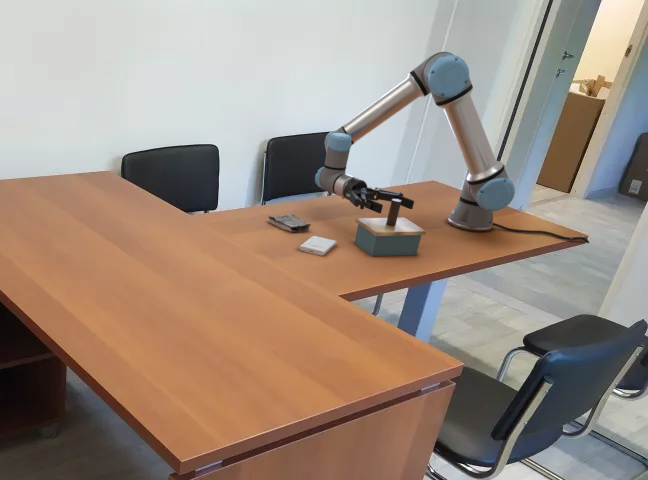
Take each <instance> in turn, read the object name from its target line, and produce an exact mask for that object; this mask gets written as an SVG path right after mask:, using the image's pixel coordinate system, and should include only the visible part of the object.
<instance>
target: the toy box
mask: <svg viewBox="0 0 648 480" xmlns="http://www.w3.org/2000/svg"><path fill="white" fill-rule="evenodd" d="M421 239H422V235H397V236H375V235H374V234H372V233H371V232H369V231H368V230H366V229H365V228H364V227H362V226H361V225H359V224H358V223H357V229H356V233H355V237H354V242H353V243H354V244H355V245H356V246H358V247H359V248H360V249H361V250H363V251H364V252H366V253H367V254H368V255H370V256H371V257H384V256H385V257H388V256H389V257H390V256H416V255H417V254H418V250H419V248H420V243H421Z"/></svg>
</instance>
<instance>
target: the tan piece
mask: <svg viewBox="0 0 648 480" xmlns="http://www.w3.org/2000/svg"><path fill="white" fill-rule="evenodd" d="M400 209H401V200H399V199H392V201H390V205H389V209H388V213H387V217H359V218H358V217H357V218H355V223H356V224H357V225H358V224H359V225H361V226H362V227H364V228H365V229H366V230H368V231H369V232H371V233H372V234H374V235H375V236H397V235H421V236H426V234H427V231H426V230H425V229H424V228H423V227H420V226H419V225H417V224H416V223H414V222H412V221H411V220H409V219H407V218H406V217H398V216H399V213H400Z"/></svg>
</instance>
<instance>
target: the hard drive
mask: <svg viewBox="0 0 648 480" xmlns="http://www.w3.org/2000/svg"><path fill="white" fill-rule="evenodd" d="M337 243H338V242H337V240H335V239H330V238H327V237H326V238H325V237H321V236H318V235H313V236H311V237H310V238H308V239H307V240H306V241H304V242H303V243H302V244H300V245H299V247H298V250H299V251H300V252H305V253H308V254H309V253H310V254H313V255H317V256H321V257H323V256H324V255H326V254H327V253H328V252H329V251H330V250H332V249H333V248H334V247H335V246H336V245H337Z"/></svg>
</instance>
